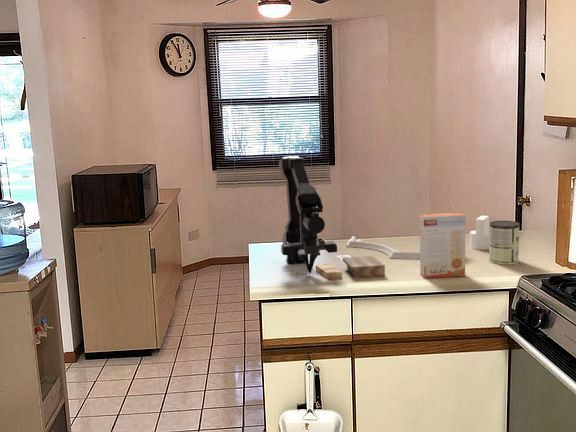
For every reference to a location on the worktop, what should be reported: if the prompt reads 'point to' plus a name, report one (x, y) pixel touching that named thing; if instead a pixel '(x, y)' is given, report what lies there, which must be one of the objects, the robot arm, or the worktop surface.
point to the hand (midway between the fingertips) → (309, 272)
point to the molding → (382, 249)
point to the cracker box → (442, 245)
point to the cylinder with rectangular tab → (480, 234)
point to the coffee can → (504, 242)
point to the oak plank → (328, 271)
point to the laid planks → (365, 266)
